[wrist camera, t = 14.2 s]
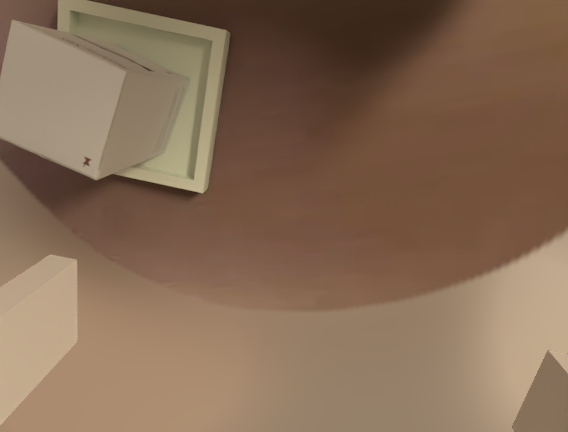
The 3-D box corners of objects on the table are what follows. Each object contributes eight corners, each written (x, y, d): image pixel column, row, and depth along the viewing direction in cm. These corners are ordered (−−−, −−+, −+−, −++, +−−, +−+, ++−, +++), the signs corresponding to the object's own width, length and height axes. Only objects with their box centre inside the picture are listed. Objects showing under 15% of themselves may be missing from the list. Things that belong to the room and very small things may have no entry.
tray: (72, -1, 35) (58, -6, 33) (231, 33, 35) (226, 30, 33) (66, 157, 39) (54, 161, 37) (208, 188, 39) (202, 193, 37)
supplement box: (193, 78, 35) (131, 72, 23) (165, 154, 37) (95, 185, 25) (114, 40, 35) (8, 14, 23) (90, 120, 37) (-17, 135, 25)
